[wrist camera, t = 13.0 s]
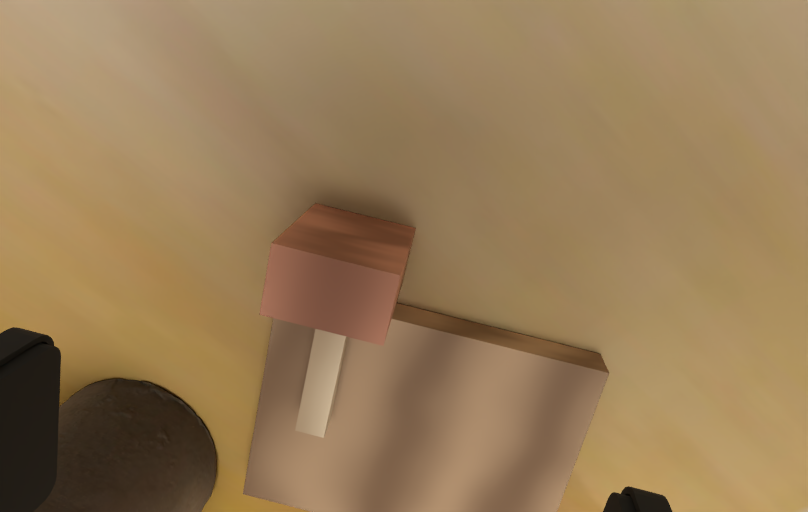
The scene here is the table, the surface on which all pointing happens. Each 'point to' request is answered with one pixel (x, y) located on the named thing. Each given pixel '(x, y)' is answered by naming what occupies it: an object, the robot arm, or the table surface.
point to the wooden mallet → (334, 293)
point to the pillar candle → (130, 452)
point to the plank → (426, 420)
